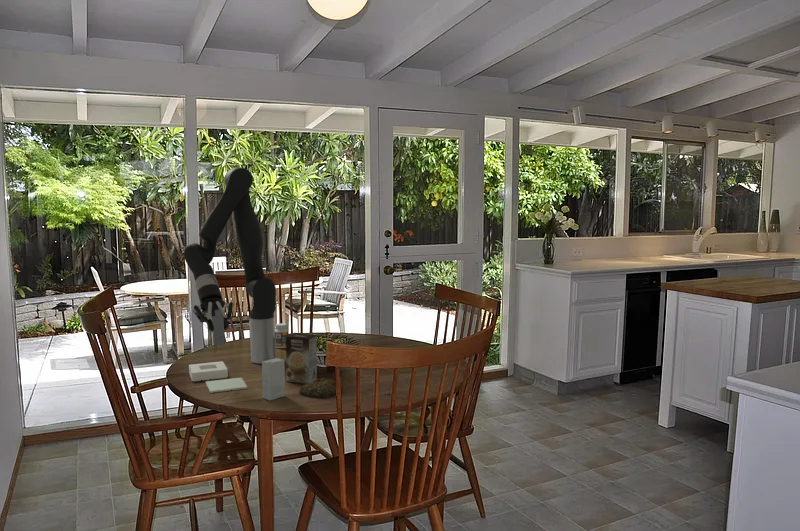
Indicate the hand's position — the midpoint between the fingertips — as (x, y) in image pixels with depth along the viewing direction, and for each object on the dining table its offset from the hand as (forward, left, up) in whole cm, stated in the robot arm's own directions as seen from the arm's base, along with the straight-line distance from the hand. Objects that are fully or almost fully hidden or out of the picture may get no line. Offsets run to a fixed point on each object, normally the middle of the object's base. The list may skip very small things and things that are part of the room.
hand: (219, 329), depth 206 cm
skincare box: (-13, +22, -19) cm, 32 cm away
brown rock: (-29, +22, -19) cm, 41 cm away
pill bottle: (-31, -45, -19) cm, 58 cm away
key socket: (+3, -13, -19) cm, 23 cm away
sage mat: (-1, +3, -19) cm, 19 cm away
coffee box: (-26, +7, -19) cm, 33 cm away
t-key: (0, -2, -5) cm, 6 cm away
